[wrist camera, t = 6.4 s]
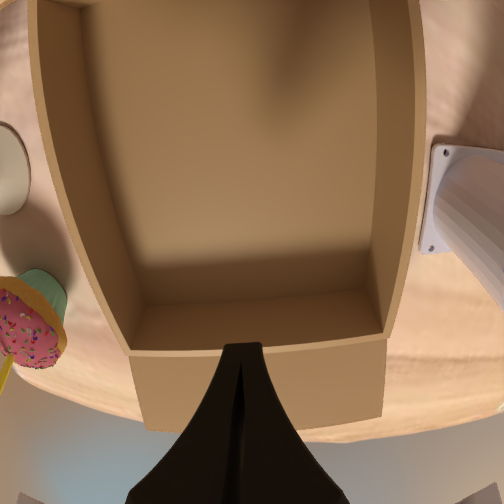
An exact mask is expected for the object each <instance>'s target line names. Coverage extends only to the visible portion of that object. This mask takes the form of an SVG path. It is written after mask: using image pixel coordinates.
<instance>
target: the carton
mask: <svg viewBox="0 0 504 504" xmlns="http://www.w3.org/2000/svg"><path fill="white" fill-rule="evenodd" d="M28 40H29V55H30V66H31V76H32V84H33V91H34V98H35V104H36V110H37V116H38V121H39V126H40V131H41V136H42V141H43V145H44V149H45V154H46V158H47V162H48V166H49V169H50V173H51V177H52V180H53V184H54V187H55V191H56V194H57V197H58V201H59V204H60V207H61V210H62V213H63V216H64V219H65V222H66V225H67V228H68V230H69V233H70V236H71V239H72V241H73V244H74V247H75V249H76V252H77V254H78V257H79V259H80V262H81V264H82V267H83V269H84V272H85V274H86V276H87V279H88V281H89V283H90V285H91V288H92V290H93V292H94V294H95V297H96V299H97V301H98V303H99V305H100V307H101V309H102V311H103V313H104V315H105V317H106V319H107V321H108V323H109V325H110V327H111V329H112V331H113V333H114V335H115V337H116V339H117V341H118V343H119V345H120V346H121V348H122V350H123V352H124V354H125V355H126V356H145V357H203V356H221V354H222V351H223V347H224V345H226V344H230V343H248V342H260V343H262V347H263V354H265V353H278V352H289V351H299V350H309V349H318V348H326V347H334V346H342V345H349V344H356V343H362V342H369V341H375V340H381V339H387V338H390V336H391V332H392V329H393V325H394V322H395V318H396V315H397V311H398V308H399V304H400V300H401V296H402V292H403V288H404V284H405V279H406V275H407V270H408V266H409V261H410V256H411V251H412V246H413V240H414V235H415V229H416V223H417V216H418V209H419V202H420V194H421V186H422V177H423V166H424V153H425V137H426V64H425V49H424V37H423V27H422V19H421V11H420V4H419V0H28Z"/></svg>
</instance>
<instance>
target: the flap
mask: <svg viewBox="0 0 504 504" xmlns="http://www.w3.org/2000/svg"><path fill="white" fill-rule="evenodd" d="M386 352H387V339H381V340H375V341H369V342H362V343H356V344H349V345H342V346H334V347H326V348H318V349H309V350H299V351H289V352H278V353H265V354H263V355H264V360H265V363H266V367H267V370H268V373H269V376H270V379H271V381H272V384H273V386H274V389H275V391H276V393H277V396H278V398H279V400H280V402H281V404H282V406H283V408H284V410H285V412H286V414H287V416H288V418H289V420H290V421H291V423H292V425H293V427H294V428H295V430H304V429H312V428H320V427H327V426H334V425H340V424H346V423H352V422H357V421H363V420H368V419H372V418H377V417H381V416H382V407H383V396H384V385H385V371H386ZM128 357H129V361H130V366H131V371H132V376H133V380H134V384H135V389H136V393H137V397H138V401H139V405H140V409H141V412H142V416H143V420H144V423H145V427H146V430H150V431H161V432H175V433H182V432H183V431H184V429H185V428H186V426H187V425H188V423H189V422H190V420H191V419H192V417H193V415H194V414H195V412H196V410H197V408H198V406H199V405H200V403H201V401H202V399H203V397H204V395H205V393H206V391H207V389H208V387H209V385H210V382H211V380H212V378H213V376H214V373H215V371H216V368H217V366H218V363H219V360H220V357H221V356H203V357H145V356H128Z"/></svg>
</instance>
